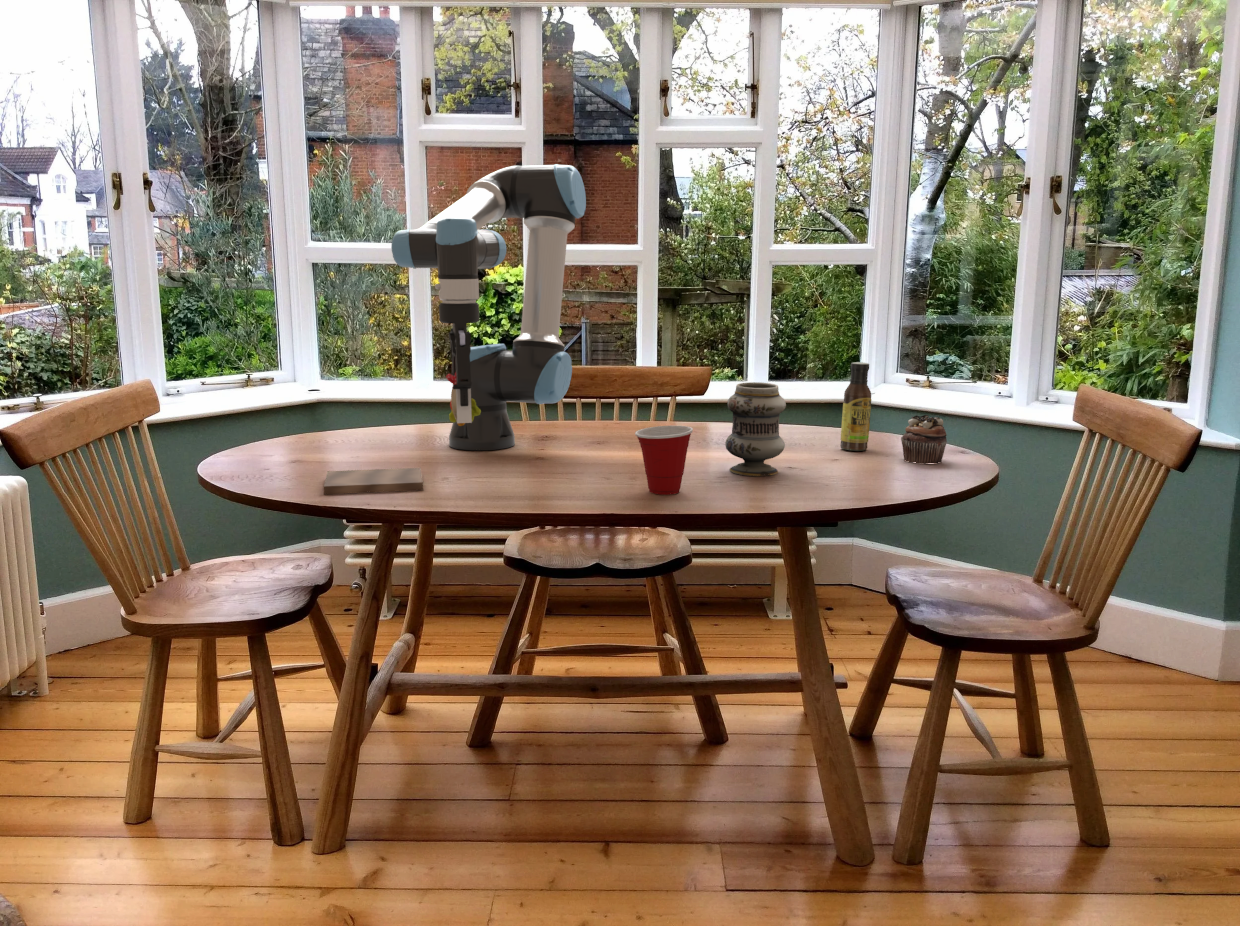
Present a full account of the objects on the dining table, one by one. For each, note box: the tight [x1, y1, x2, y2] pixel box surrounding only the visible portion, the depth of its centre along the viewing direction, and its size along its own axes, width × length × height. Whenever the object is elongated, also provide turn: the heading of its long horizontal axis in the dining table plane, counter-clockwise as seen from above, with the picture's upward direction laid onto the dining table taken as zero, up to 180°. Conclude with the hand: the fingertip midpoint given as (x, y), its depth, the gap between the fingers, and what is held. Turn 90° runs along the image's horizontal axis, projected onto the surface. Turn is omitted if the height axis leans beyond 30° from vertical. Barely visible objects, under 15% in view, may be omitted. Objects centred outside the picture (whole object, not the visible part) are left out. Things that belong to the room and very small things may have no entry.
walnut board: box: [323, 467, 424, 495], centre depth 200 cm, size 18×14×2 cm
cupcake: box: [900, 414, 948, 464], centre depth 225 cm, size 10×10×10 cm
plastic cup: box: [634, 425, 693, 496], centre depth 194 cm, size 11×11×12 cm
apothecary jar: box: [724, 381, 787, 477], centre depth 212 cm, size 12×12×18 cm
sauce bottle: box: [840, 361, 872, 452], centre depth 236 cm, size 6×6×20 cm
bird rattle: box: [445, 373, 481, 426], centre depth 201 cm, size 6×11×9 cm
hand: (462, 418), depth 202 cm, fingers closed on bird rattle, 9 cm apart
